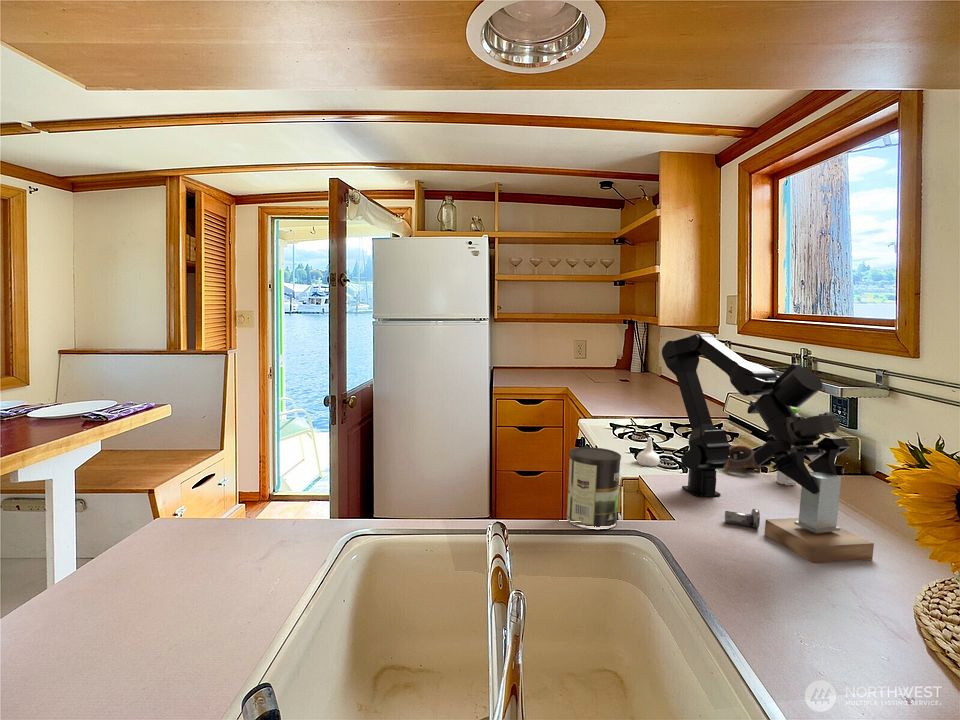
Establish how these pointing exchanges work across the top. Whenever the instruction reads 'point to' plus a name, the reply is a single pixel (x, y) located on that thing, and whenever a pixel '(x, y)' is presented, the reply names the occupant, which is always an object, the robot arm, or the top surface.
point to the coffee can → (593, 486)
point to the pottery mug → (741, 458)
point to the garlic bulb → (648, 455)
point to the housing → (820, 504)
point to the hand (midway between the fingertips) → (827, 492)
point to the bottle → (780, 476)
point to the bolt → (743, 518)
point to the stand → (819, 542)
